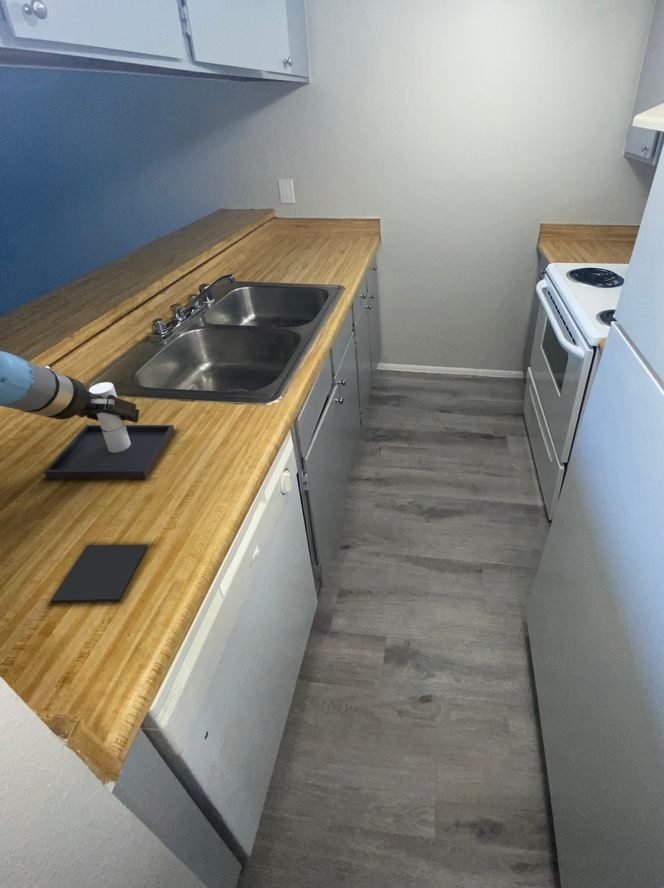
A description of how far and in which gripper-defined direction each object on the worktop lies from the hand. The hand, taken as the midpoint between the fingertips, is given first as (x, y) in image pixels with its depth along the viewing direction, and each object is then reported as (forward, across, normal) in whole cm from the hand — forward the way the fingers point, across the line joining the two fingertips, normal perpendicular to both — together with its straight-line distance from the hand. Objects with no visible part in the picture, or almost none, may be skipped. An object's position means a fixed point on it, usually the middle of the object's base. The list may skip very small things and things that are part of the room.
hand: (121, 416), depth 103 cm
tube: (+1, 0, +6) cm, 7 cm away
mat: (-20, -12, +29) cm, 37 cm away
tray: (0, 0, +8) cm, 8 cm away
